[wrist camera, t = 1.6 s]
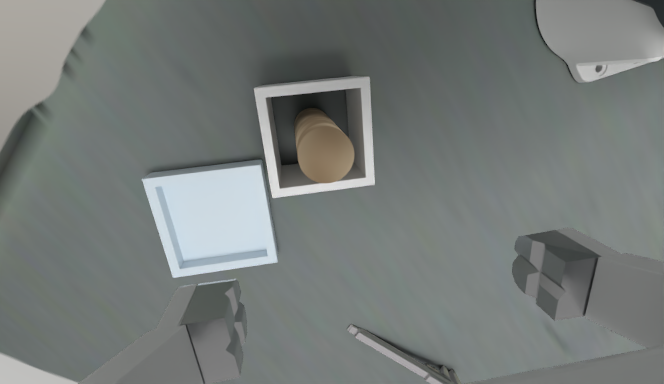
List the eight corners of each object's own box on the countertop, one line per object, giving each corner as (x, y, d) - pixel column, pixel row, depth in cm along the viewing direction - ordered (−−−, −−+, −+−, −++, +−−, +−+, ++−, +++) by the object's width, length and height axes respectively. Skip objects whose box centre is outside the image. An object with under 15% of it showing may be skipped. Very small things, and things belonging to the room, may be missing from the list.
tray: (262, 159, 36) (260, 164, 34) (278, 251, 41) (277, 262, 38) (151, 172, 35) (142, 179, 33) (179, 266, 39) (173, 277, 37)
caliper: (453, 368, 52) (474, 405, 46) (449, 372, 52) (469, 410, 46) (350, 322, 46) (359, 358, 40) (346, 327, 46) (354, 364, 41)
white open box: (351, 76, 35) (369, 76, 27) (357, 162, 38) (374, 184, 30) (261, 85, 34) (253, 88, 26) (275, 173, 37) (272, 198, 30)
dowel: (328, 105, 35) (352, 124, 22) (331, 142, 37) (356, 179, 24) (291, 109, 35) (294, 131, 22) (296, 146, 36) (301, 186, 23)
